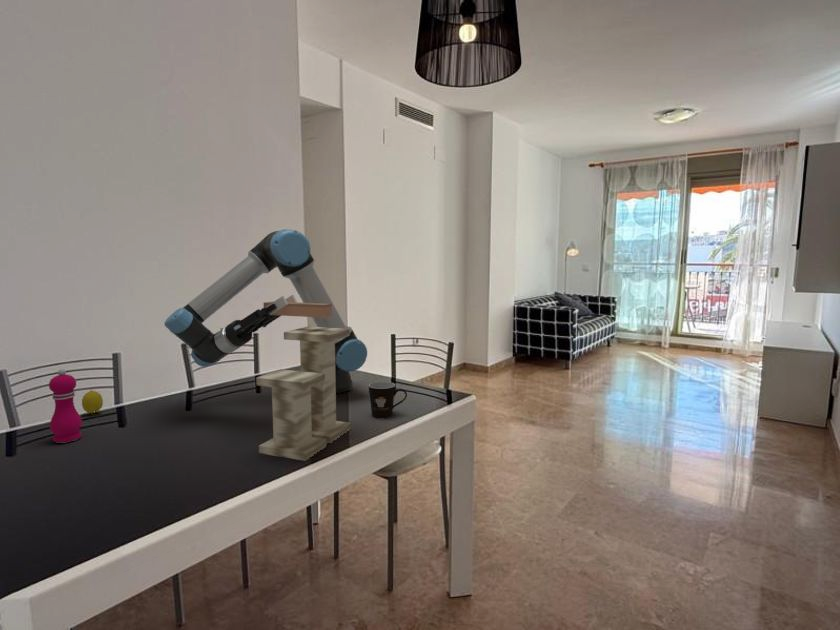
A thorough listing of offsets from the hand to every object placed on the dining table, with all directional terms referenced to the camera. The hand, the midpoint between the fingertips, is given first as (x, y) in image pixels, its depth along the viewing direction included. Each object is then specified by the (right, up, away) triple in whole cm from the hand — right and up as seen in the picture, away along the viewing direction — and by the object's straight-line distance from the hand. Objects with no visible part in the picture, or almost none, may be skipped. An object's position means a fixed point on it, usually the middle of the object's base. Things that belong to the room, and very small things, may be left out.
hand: (290, 299), depth 138 cm
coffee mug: (+26, -37, +17) cm, 48 cm away
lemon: (-68, -37, +17) cm, 79 cm away
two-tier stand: (+6, -39, -4) cm, 40 cm away
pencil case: (+2, -4, 0) cm, 5 cm away
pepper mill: (-60, -39, -4) cm, 72 cm away
